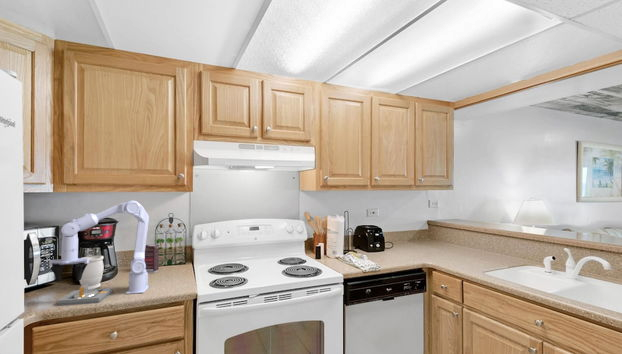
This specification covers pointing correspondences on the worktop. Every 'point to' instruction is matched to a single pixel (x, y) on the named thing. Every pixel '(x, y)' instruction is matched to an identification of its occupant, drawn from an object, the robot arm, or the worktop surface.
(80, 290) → the dial
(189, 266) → the worktop surface
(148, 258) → the supplement box
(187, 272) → the worktop surface
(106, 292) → the dial board
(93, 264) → the jar
